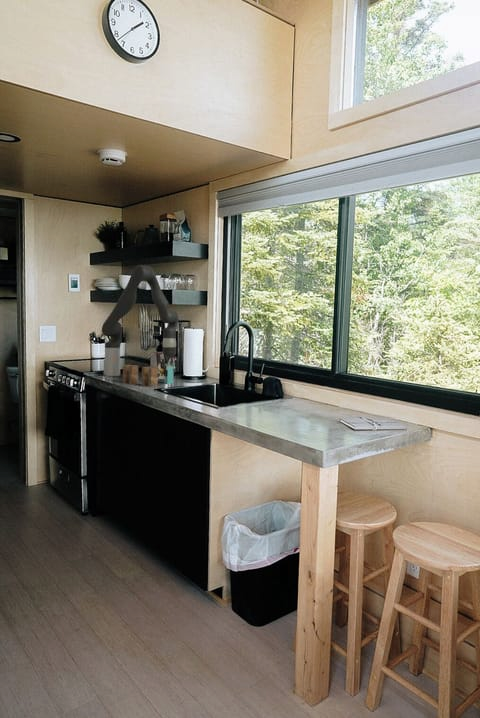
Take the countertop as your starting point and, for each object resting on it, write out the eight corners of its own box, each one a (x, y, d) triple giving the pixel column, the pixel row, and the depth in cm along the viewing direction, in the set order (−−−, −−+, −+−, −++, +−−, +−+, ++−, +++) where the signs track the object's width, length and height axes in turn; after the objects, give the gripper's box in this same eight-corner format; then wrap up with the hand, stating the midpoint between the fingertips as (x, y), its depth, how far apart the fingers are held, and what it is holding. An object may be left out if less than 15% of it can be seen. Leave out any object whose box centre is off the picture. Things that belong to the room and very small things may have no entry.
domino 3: (141, 385, 290) (142, 367, 289) (148, 384, 294) (148, 366, 293) (144, 385, 289) (144, 367, 288) (150, 384, 293) (151, 367, 292)
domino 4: (148, 386, 287) (148, 368, 286) (154, 385, 291) (155, 367, 290) (151, 386, 286) (151, 368, 285) (157, 385, 290) (157, 367, 289)
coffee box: (157, 379, 316) (157, 352, 314) (150, 378, 320) (150, 352, 318) (168, 378, 323) (168, 352, 322) (160, 377, 327) (161, 351, 325)
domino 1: (123, 382, 298) (123, 365, 298) (129, 382, 303) (129, 364, 302) (125, 383, 297) (125, 365, 296) (131, 382, 301) (132, 365, 301)
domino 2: (129, 383, 296) (129, 366, 295) (135, 382, 300) (135, 365, 299) (131, 384, 294) (131, 366, 294) (138, 383, 299) (138, 365, 298)
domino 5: (164, 383, 299) (164, 366, 298) (170, 382, 303) (170, 365, 302) (167, 383, 298) (167, 366, 297) (173, 383, 302) (173, 365, 301)
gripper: (172, 345, 307) (172, 374, 308) (155, 346, 295) (155, 376, 297) (182, 345, 303) (182, 375, 304) (165, 346, 291) (165, 377, 292)
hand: (169, 375), depth 300 cm, fingers closed on domino 5, 5 cm apart
